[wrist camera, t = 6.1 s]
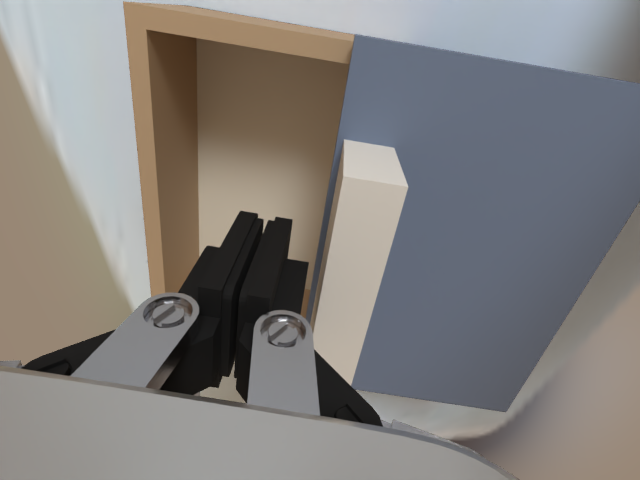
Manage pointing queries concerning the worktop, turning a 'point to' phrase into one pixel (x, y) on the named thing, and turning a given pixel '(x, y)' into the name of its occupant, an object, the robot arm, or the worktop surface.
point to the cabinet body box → (230, 129)
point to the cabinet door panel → (465, 217)
